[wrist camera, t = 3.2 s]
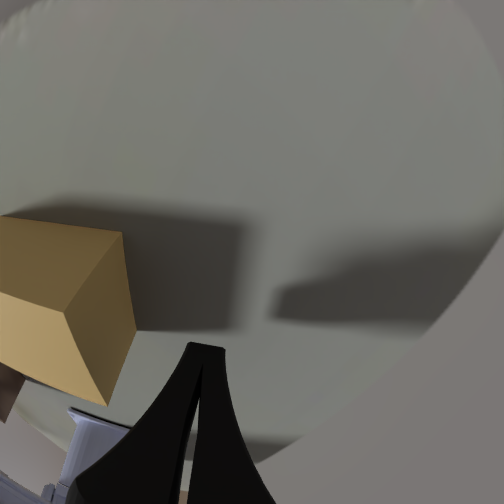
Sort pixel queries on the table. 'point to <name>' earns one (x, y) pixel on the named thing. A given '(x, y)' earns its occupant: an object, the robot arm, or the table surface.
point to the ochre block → (65, 305)
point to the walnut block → (9, 389)
